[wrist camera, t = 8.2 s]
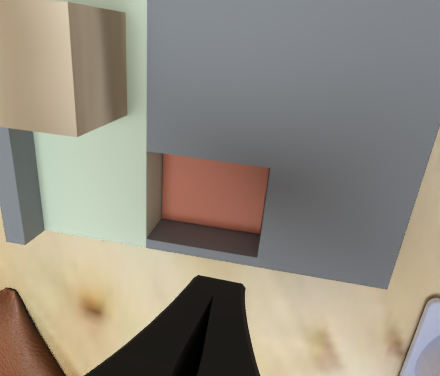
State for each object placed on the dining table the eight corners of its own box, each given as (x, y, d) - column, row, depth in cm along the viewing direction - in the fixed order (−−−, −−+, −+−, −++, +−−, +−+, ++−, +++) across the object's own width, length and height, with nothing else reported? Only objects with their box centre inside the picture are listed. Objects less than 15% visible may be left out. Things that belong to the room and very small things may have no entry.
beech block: (125, 12, 14) (67, 1, 10) (127, 115, 16) (77, 137, 12) (31, 4, 15) (-55, -8, 11) (42, 104, 16) (-31, 122, 12)
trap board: (499, -166, 12) (590, -256, 9) (375, 259, 19) (395, 311, 15) (16, -172, 15) (-76, -244, 11) (55, 207, 21) (6, 241, 17)
